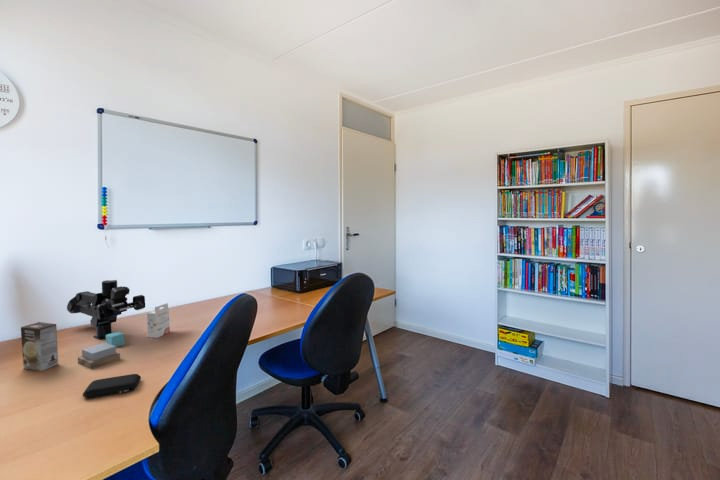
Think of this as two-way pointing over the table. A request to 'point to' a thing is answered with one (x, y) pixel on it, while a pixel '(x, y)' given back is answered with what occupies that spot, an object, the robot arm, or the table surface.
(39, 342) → the coffee box
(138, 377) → the carrying case or bag
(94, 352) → the grey slab
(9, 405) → the table surface
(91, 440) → the table surface
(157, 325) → the ink cartridge box
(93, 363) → the tan flat square block
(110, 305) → the robot arm
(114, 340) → the teal cube
